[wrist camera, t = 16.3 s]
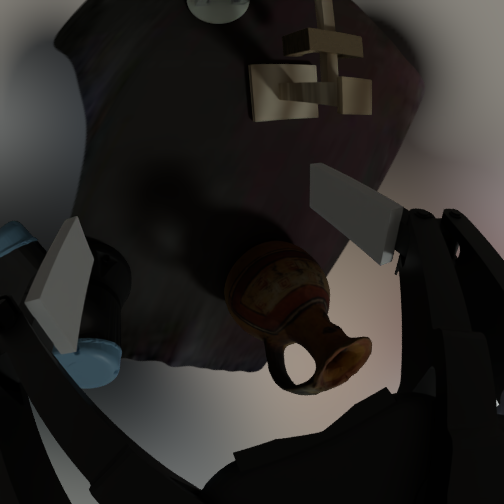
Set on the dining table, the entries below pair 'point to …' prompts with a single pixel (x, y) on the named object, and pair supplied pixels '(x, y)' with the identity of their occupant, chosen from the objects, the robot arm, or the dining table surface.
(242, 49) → the dining table surface
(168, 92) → the dining table surface
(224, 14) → the felt pad
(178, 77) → the dining table surface
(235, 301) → the ceramic pitcher
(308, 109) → the peg stand
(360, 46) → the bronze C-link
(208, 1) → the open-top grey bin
